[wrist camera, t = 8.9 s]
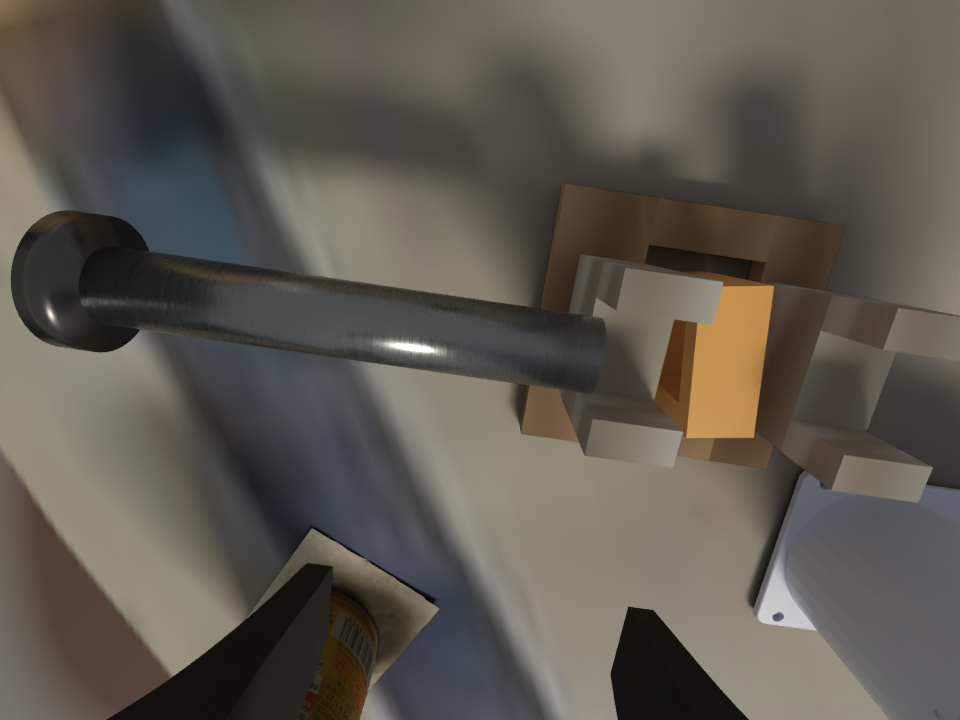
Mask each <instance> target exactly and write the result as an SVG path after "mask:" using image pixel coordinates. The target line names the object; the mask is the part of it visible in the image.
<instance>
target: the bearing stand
mask: <svg viewBox="0 0 960 720" xmlns="http://www.w3.org/2000/svg"><path fill="white" fill-rule="evenodd" d="M845 227H846V226H843V225H836V224H830V223H823V222H817V221H810V220H803V219H797V218H790V217H783V216H777V215H770V214H764V213H757V212H750V211H744V210H737V209H730V208H724V207H717V206H710V205H704V204H697V203H691V202H684V201H677V200H671V199H664V198H657V197H651V196H644V195H638V194H631V193H624V192H618V191H611V190H604V189H598V188H591V187H584V186H578V185H571V184H564V185H563V186H562V189H561V194H560V200H559V206H558V211H557V217H556V223H555V228H554V234H553V240H552V245H551V251H550V256H549V262H548V268H547V273H546V279H545V285H544V290H543V296H542V302H541V307H540V309H546V310H553V311H560V312H567V313H573V314H580V315H587V316H594V317H601V318H603V320H604V322H605V326H606V349H605V357H604V363H603V367H602V372H601V375H600V378H599V381H598V384H597V386H596V388H595V390H594V391H593V392H592V393H591V394H586V393H579V392H572V391H565V390H558V389H551V388H544V387H537V386H530V385H527V386H526V392H525V398H524V403H523V409H522V415H521V420H520V430H521V434H525V435H533V436H540V437H547V438H554V439H561V440H568V441H575V442H579V443H580V445H581V448H582V450H583V453H584V455H585V456H591V457H599V458H606V459H613V460H620V461H627V462H634V463H641V464H648V465H655V466H662V467H669V468H673V467H674V463H675V460H676V456H680V457H687V458H694V459H701V460H708V461H715V462H722V463H729V464H736V465H743V466H750V467H758V468H765V469H767V467H768V464H769V461H770V458H771V454H772V451H773V448H774V447H776V448H777V449H778V450H780V451H781V452H782V453H783V454H785V455H786V456H787V457H789V458H790V459H791V460H792V461H794V462H795V463H796V464H798V465H799V466H800V467H802V468H803V469H804V470H805V471H807V472H808V473H809V474H811V475H812V476H813V477H814V478H816V479H817V480H818V481H820V482H821V483H822V484H823V485H825V486H826V487H827V488H829V489H830V490H831V491H838V492H845V493H852V494H859V495H866V496H874V497H881V498H888V499H895V500H902V501H909V502H916V503H918V502H919V500H920V498H921V495H922V493H923V490H924V488H925V486H926V483H927V481H928V479H929V476H930V474H931V472H932V469H933V467H931V466H929V465H927V464H926V463H924V462H922V461H920V460H918V459H916V458H915V457H913V456H911V455H909V454H907V453H905V452H903V451H902V450H900V449H898V448H896V447H894V446H892V445H891V444H889V443H887V442H885V441H883V440H881V439H880V438H878V437H876V436H874V435H872V434H870V433H869V432H867V429H868V426H869V424H870V421H871V418H872V416H873V413H874V410H875V408H876V405H877V402H878V400H879V397H880V394H881V392H882V389H883V386H884V384H885V381H886V378H887V376H888V373H889V370H890V368H891V365H892V362H893V360H894V357H895V354H896V352H901V353H908V354H915V355H921V356H928V357H935V358H942V359H949V360H955V361H960V316H958V315H953V314H948V313H943V312H937V311H932V310H927V309H921V308H916V307H911V306H905V305H900V304H895V303H890V302H884V301H879V300H874V299H868V298H863V297H858V296H853V295H847V294H842V293H837V292H831V291H826V290H825V289H826V286H827V283H828V280H829V276H830V273H831V270H832V267H833V264H834V261H835V258H836V255H837V252H838V249H839V246H840V243H841V240H842V237H843V234H844V230H845ZM649 245H652V246H658V247H665V248H672V249H678V250H685V251H692V252H698V253H705V254H712V255H719V256H725V257H732V258H739V259H745V260H752V265H751V269H750V272H749V276H748V279H747V280H750V281H754V282H759V283H764V284H768V285H773V286H774V291H773V298H772V306H771V313H770V320H769V328H768V335H767V343H766V350H765V357H764V365H763V372H762V380H761V387H760V394H759V402H758V409H757V417H756V424H755V431H754V438H686V437H685V436H684V435H683V431H682V430H681V429H680V428H679V427H678V426H677V425H676V424H675V423H674V422H673V421H672V420H671V418H670V417H669V416H668V415H667V414H666V413H665V412H664V411H663V410H662V409H661V408H660V407H659V406H658V405H657V404H656V403H655V401H654V398H655V394H656V390H657V386H658V382H659V378H660V374H661V370H662V366H663V362H664V358H665V354H666V350H667V346H668V342H669V338H670V334H671V330H672V326H673V322H674V319H676V320H683V321H690V322H697V323H703V324H710V325H712V323H713V319H714V316H715V312H716V308H717V305H718V301H719V297H720V294H721V290H722V286H723V283H724V282H721V281H717V280H712V279H708V278H704V277H700V276H695V275H691V274H687V273H683V272H679V271H674V270H670V269H666V268H662V267H657V266H653V265H649V264H645V261H646V256H647V252H648V247H649Z"/></svg>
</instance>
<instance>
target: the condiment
mask: <svg viewBox="0 0 960 720" xmlns="http://www.w3.org/2000/svg"><path fill="white" fill-rule="evenodd" d="M307 563H313V564H320V565H327V566H333V571H332V577H333V578H334V580H332V585H331V598H330V611H329V624H328V636H327V639H326V642H325V645H324V648H323V651H322V655H321V658H320V661H319V664H318V667H317V670H316V672H315V675H314V678H313V681H312V684H311V686H310V688H309V690H308V693H307V695H306V697H305V699H304V702H303V704H302V706H301V708H300V711H299V713H298V715H297V717H296V720H360V716H361V713H362V709H363V706H364V702H365V699H366V696H367V693H368V691H369V690H370V689H371V688H372V686H373V685H374V683H375V682H376V681H377V680H378V679H379V678H380V676H381V675H382V674H383V673H384V672H385V670H386V669H387V668H388V667H389V666H390V665H391V664H392V663H393V662H394V660H395V659H397V658H398V657H399V656H400V655H401V653H402V652H403V651H404V649H405V648H406V647H407V646H408V644H410V643H411V641H412V640H413V638H414V637H415V636H416V635H417V634H418V633H419V631H420V630H421V629H422V628H423V627H424V626H425V625H426V624H427V623H428V622H429V621H430V620H431V618H432V617H433V616H434V615H435V614H436V612H437V611H438V610H439V608H437V607H436V606H435V605H433V604H432V603H430V602H428V601H427V600H425V598H424V597H423V596H421V595H419V594H418V593H416V592H415V591H413V590H412V589H410V588H409V587H407V586H405V585H404V584H402V583H400V582H399V581H398V580H397V579H395V578H394V577H392V576H390V575H389V574H387V573H386V572H384V571H382V570H381V569H379V568H377V567H376V566H374V565H372V564H371V563H370V562H369V561H368V560H367V559H364V558H361V557H359V556H357V555H356V554H354V553H352V552H350V551H349V550H347V549H346V548H344V547H343V546H342V545H340V544H339V543H337V542H335V541H333V540H331V539H329V538H327V537H326V536H324V535H322V534H321V533H319V532H317V531H316V530H314V529H313V528H312V529H311V530H310V531H309V533H308V534H307V536H306V537H305V538H304V540H303V541H302V543H301V544H300V545H299V547H298V548H297V549H296V551H295V552H294V554H293V555H292V556H291V558H290V559H289V561H288V562H287V564H286V565H285V566H284V567H283V569H282V570H281V572H280V573H279V574H278V576H277V577H276V578H275V580H274V581H273V583H272V584H271V585H270V587H269V588H268V589H267V591H266V592H265V594H264V595H263V596H262V598H261V599H260V600H259V602H258V603H257V605H256V606H255V607H254V609H253V610H252V612H251V613H250V614H249V616H250V615H251V614H252V613H254V612H255V611H256V610H257V609H258V608H259V607H260V606H262V605H263V604H264V603H265V602H266V601H267V600H268V599H269V598H270V597H271V596H272V595H273V594H275V593H276V592H277V591H278V590H279V589H280V588H281V587H282V586H283V585H284V584H285V583H286V582H287V581H288V580H289V579H290V578H291V577H292V576H293V575H294V574H295V573H296V572H297V571H298V570H300V569H301V568H302V567H303V566H304V565H305V564H307ZM249 616H248V617H249ZM248 617H247V618H248ZM247 618H246V619H247ZM383 632H385V633H383Z"/></svg>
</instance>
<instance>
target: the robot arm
mask: <svg viewBox="0 0 960 720" xmlns="http://www.w3.org/2000/svg"><path fill="white" fill-rule="evenodd" d="M820 483H821V482H820V481H818V480H817V479H816V478H814V477H813V476H812V475H811V474H809V473H808V472H807V471H804V472H802V473H801V475H800V476H799V478H798V481H797V484H796V487H795V490H794V493H793V496H792V499H791V502H790V504H789V507H788V510H787V513H786V516H785V519H784V522H783V525H782V528H781V530H780V533H779V536H778V539H777V542H776V545H775V548H774V551H773V554H772V556H771V559H770V562H769V565H768V568H767V571H766V574H765V577H764V580H763V582H762V585H761V588H760V591H759V594H758V597H757V600H756V603H755V606H754V608H753V613H754V615H755V617H756V618H757V620H758V621H760V622H761V623H765V624H772V625H779V626H787V627H794V628H801V629H809V630H816V631H818V632H819V633H820V634H821V636H822V637H823V638H824V639H825V641H826V642H827V643H828V644H829V645H830V647H831V648H832V649H833V650H834V652H835V653H836V654H837V655H838V657H839V658H840V659H841V660H842V662H843V663H844V664H845V665H846V666H847V668H848V669H849V670H850V671H851V673H852V674H853V675H854V676H855V678H856V679H857V680H858V681H859V683H860V684H861V685H862V686H863V687H864V689H865V690H866V691H867V692H868V694H869V695H870V696H871V697H872V699H873V700H874V701H875V702H876V704H877V705H878V706H879V707H880V708H881V710H882V711H883V712H884V713H885V715H886V716H887V717H888V718H889V720H960V489H953V488H945V487H938V486H931V485H926V486H925V488H924V490H923V493H922V495H921V498H920V500H919V502H918V503H916V502H909V501H902V500H895V499H888V498H881V497H874V496H866V495H859V494H852V493H845V492H838V491H831V490H830V489H829V488H827V487H826V486H825V485H820ZM332 571H333V566H327V565H320V564H313V563H307V564H305V565H304V566H303V567H302V568H301V569H300V570H298V571H297V572H296V573H295V574H294V575H293V576H292V577H291V578H290V579H289V580H288V581H287V582H286V583H285V584H284V585H283V586H282V587H281V588H280V589H279V590H278V591H277V592H276V593H275V594H273V595H272V596H271V597H270V598H269V599H268V600H267V601H266V602H265V603H264V604H263V605H262V606H260V607H259V608H258V609H257V610H256V611H255V612H254V613H252V614H251V615H250V616H249V617H248V618H247V619H246V620H245V621H243V622H242V623H241V624H240V625H239V626H238V627H236V628H235V629H234V630H233V631H232V632H230V633H229V634H228V635H227V636H225V637H224V638H223V639H222V640H220V641H219V642H218V643H217V644H215V645H214V646H213V647H212V648H211V649H209V650H208V651H207V652H206V653H204V654H203V655H202V656H200V657H199V658H198V659H196V660H195V661H194V662H192V663H191V664H190V665H188V666H187V667H186V668H184V669H183V670H182V671H180V672H179V673H177V674H176V675H175V676H173V677H172V678H170V679H169V680H168V681H166V682H165V683H163V684H162V685H160V686H159V687H157V688H156V689H155V690H153V691H151V692H150V693H148V694H147V695H145V696H144V697H142V698H141V699H139V700H137V701H136V702H134V703H133V704H131V705H130V706H128V707H126V708H125V709H123V710H122V711H120V712H118V713H117V714H115V715H114V716H112V717H110V718H109V719H107V720H296V717H297V715H298V713H299V711H300V708H301V706H302V704H303V702H304V699H305V697H306V695H307V693H308V690H309V688H310V686H311V684H312V681H313V678H314V675H315V672H316V670H317V667H318V664H319V661H320V658H321V655H322V651H323V648H324V645H325V642H326V639H327V636H328V624H329V611H330V598H331V585H332ZM777 612H778V613H777ZM775 613H777V614H776V615H774V614H775ZM611 680H612V687H613V694H614V700H615V706H616V712H617V717H618V720H749V719H748V718H747V717H746V716H745V715H744V714H743V713H742V712H741V711H740V710H739V709H738V708H737V707H736V706H735V705H734V704H733V702H732V701H731V700H730V699H729V698H728V697H727V696H726V695H725V694H724V693H723V691H722V690H721V689H720V688H719V687H718V686H717V685H716V684H715V682H714V681H713V680H712V679H711V678H710V677H709V675H708V674H707V673H706V672H705V671H704V670H703V669H702V667H701V666H700V665H699V664H698V663H697V661H696V660H695V659H694V658H693V657H692V656H691V654H690V653H689V652H688V651H687V650H686V648H685V647H684V646H683V645H682V644H681V642H680V641H679V640H678V639H677V638H676V636H675V635H674V634H673V633H672V632H671V630H670V629H669V628H668V627H667V626H666V624H665V623H664V622H663V621H662V620H661V618H660V617H659V616H658V615H657V614H656V613H655V612H654V610H649V609H641V608H634V607H628V610H627V614H626V618H625V621H624V625H623V629H622V633H621V636H620V640H619V644H618V648H617V651H616V655H615V659H614V663H613V666H612V670H611Z"/></svg>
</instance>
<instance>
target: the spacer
mask: <svg viewBox="0 0 960 720" xmlns="http://www.w3.org/2000/svg"><path fill="white" fill-rule="evenodd" d="M683 273H687V274H691V275H695V276H700V277H704V278H708V279H712V280H717V281H721V282H724V283H723V286H722V290H721V294H720V297H719V301H718V305H717V308H716V312H715V316H714V319H713V323H712V325H710V324H703V323H697V322H690V321H683V320H676V319H674V322H673V326H672V330H671V334H670V338H669V342H668V346H667V350H666V354H665V358H664V362H663V366H662V370H661V374H660V378H659V382H658V386H657V390H656V394H655V398H654V401H655V403H656V404H657V405H658V406H659V407H660V408H661V409H662V410H663V411H664V412H665V413H666V414H667V415H668V416H669V417H670V418H671V420H672V421H673V422H674V423H675V424H676V425H677V426H678V427H679V428H680V429H681V430H682V431H683V435H684V436H685V437H686V438H754V431H755V424H756V417H757V409H758V402H759V394H760V387H761V380H762V372H763V365H764V357H765V350H766V343H767V335H768V328H769V320H770V313H771V306H772V298H773V291H774V286H773V285H768V284H764V283H759V282H754V281H750V280H745V279H740V278H735V277H731V276H726V275H721V274H717V273H712V272H707V271H692V272H683Z"/></svg>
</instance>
